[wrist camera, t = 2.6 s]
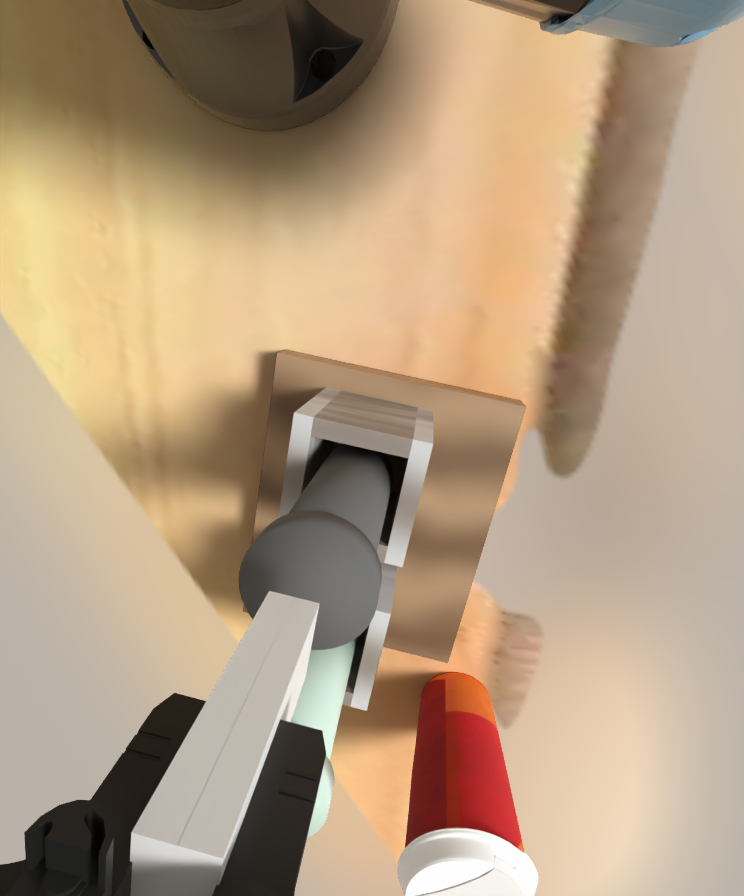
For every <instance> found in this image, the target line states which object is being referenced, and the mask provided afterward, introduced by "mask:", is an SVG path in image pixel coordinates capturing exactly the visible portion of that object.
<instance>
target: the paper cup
mask: <svg viewBox="0 0 744 896" xmlns="http://www.w3.org/2000/svg"><path fill="white" fill-rule="evenodd" d="M398 878H399V881H400V884H401V887H402V889H403V891H404V895H405V896H535V890H536V886H537V883H538V875H537V871H536V869H535V867H534V864H533V862H532V861H531V860H530V858H529V857H528V855H526V854H525V853H524V848H523V844H522V839H521V835H520V831H519V825H518V821H517V816H516V812H515V807H514V802H513V798H512V794H511V789H510V784H509V779H508V775H507V771H506V766H505V761H504V757H503V752H502V748H501V743H500V739H499V734H498V730H497V725H496V721H495V717H494V712H493V708H492V704H491V701H490V697H489V694H488V692H487V690H486V688H485V687H484V686H483V684H482V683H481V682H479V681H478V680H477V679H475V678H473V677H471V676H469V675H466V674H463V673H455V672H451V673H444V674H441V675H438V676H436V677H434V678H433V679H431V680H430V681H429V682H428V683H427V684H426V686H425V687H424V689H423V692H422V697H421V703H420V710H419V719H418V728H417V737H416V746H415V754H414V761H413V769H412V780H411V791H410V803H409V814H408V824H407V834H406V843H405V849H404V851H403V852H402V854H401V856H400V859H399V862H398Z"/></svg>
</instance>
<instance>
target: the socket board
mask: <svg viewBox="0 0 744 896" xmlns="http://www.w3.org/2000/svg"><path fill="white" fill-rule="evenodd" d="M525 409H526V406H525V405H524V404H523V403H522V402H521V401H520V400H516V399H511V398H506V397H502V396H497V395H493V394H488V393H483V392H479V391H474V390H470V389H465V388H460V387H456V386H451V385H447V384H442V383H437V382H433V381H428V380H424V379H419V378H414V377H410V376H405V375H400V374H396V373H391V372H387V371H382V370H377V369H373V368H368V367H364V366H359V365H354V364H350V363H345V362H341V361H336V360H331V359H327V358H322V357H318V356H313V355H308V354H304V353H299V352H295V351H290V350H284V351H281V352H278V353H277V358H276V365H275V373H274V380H273V388H272V396H271V403H270V411H269V418H268V426H267V433H266V441H265V448H264V456H263V464H262V471H261V479H260V486H259V494H258V501H257V509H256V516H255V524H254V531H253V539H252V545H253V543H254V542H255V541H256V539H257V538H258V537H259V535H260V534H261V533H262V532H263V530H264V529H265V528H266V527H267V526H268V525H269V524H270V523H272V522H273V521H275V520H276V519H278V518H280V517H282V516H284V515H286V514H288V513H289V512H290V510H291V509H292V507H293V506H294V504H295V503H296V502H297V500H298V499H299V497H300V496H301V494H302V493H303V491H304V490H305V489H306V487H307V486H308V484H309V483H310V481H311V480H312V478H313V477H314V476H315V474H316V473H317V471H318V470H319V468H320V467H321V465H322V464H323V462H324V461H325V460H326V458H327V457H328V455H329V454H330V453H331V452H332V451H333V450H334V449H335V448H337V447H338V446H340V445H342V444H347V445H352V446H356V447H360V448H365V449H369V450H374V451H378V452H382V453H383V454H384V455H385V456H386V457H387V459H388V460H389V462H390V464H391V467H392V471H393V483H392V488H391V492H390V497H389V501H388V506H387V510H386V514H385V519H384V523H383V528H382V532H381V537H380V541H379V545H378V550H377V554H378V557H379V560H380V564H381V570H382V581H381V587H380V593H379V598H378V604H377V608H376V612H375V615H374V617H373V619H372V621H371V623H370V624H369V626H368V627H367V628H366V629H365V630H364V632H363V633H362V634H361V635H359V636H358V637H357V642H356V646H355V651H354V655H353V660H352V664H351V668H350V673H349V677H348V682H347V686H346V690H345V695H344V699H343V704H342V705H346V706H350V707H353V708H357V709H361V710H365V711H367V708H368V704H369V700H370V696H371V692H372V688H373V684H374V680H375V676H376V672H377V668H378V664H379V660H380V656H381V652H382V648H383V647H386V648H390V649H394V650H398V651H402V652H406V653H410V654H414V655H418V656H422V657H426V658H430V659H434V660H438V661H442V662H445V663H448V661H449V657H450V654H451V651H452V648H453V644H454V641H455V638H456V635H457V631H458V628H459V625H460V621H461V618H462V615H463V612H464V608H465V605H466V602H467V599H468V595H469V592H470V589H471V586H472V582H473V579H474V576H475V572H476V569H477V566H478V563H479V559H480V556H481V553H482V549H483V546H484V543H485V540H486V537H487V533H488V530H489V526H490V524H491V520H492V517H493V514H494V510H495V507H496V504H497V501H498V497H499V494H500V491H501V488H502V484H503V481H504V478H505V475H506V471H507V468H508V465H509V462H510V458H511V455H512V452H513V448H514V445H515V442H516V439H517V435H518V432H519V429H520V426H521V422H522V419H523V416H524V413H525ZM243 612H247V613H248V611H247V609H246V607H245V605H244V607H243Z"/></svg>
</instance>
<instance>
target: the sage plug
mask: <svg viewBox="0 0 744 896" xmlns="http://www.w3.org/2000/svg"><path fill="white" fill-rule="evenodd" d="M356 642H357V638H355V639H354V640H352V641H351V642H349V643H347V644H345V645H342V646H340V647H336V648H332V649H326V650H311V651H310V656H309V662H308V667H307V672H306V677H305V680H304V683H303V686H302V689H301V692H300V695H299V698H298V701H297V704H296V707H295V710H294V713H293V716H292V719H291V721H290V722H292V723H296V724H299V725H303V726H307V727H311V728H314V729H318V730H322V731H323V737H324V743H325V749H326V757H325V762H324V766H323V771H322V775H321V780H320V784H319V789H318V793H317V798H316V802H315V806H314V811H313V815H312V819H311V823H310V827H309V832H308V836H307V838H308V837H310V836H312V835H313V834H315V833H316V832H317V831H318V830H319V829H320V828H321V827H322V826H323V824H324V823H325V821H326V818H327V815H328V811H329V806H330V801H331V796H332V790H333V786H334V772H333V768H332V765H331V763H330V757H331V752H332V748H333V743H334V739H335V735H336V730H337V726H338V721H339V717H340V712H341V708H342V704H343V699H344V695H345V690H346V686H347V682H348V677H349V673H350V668H351V664H352V660H353V655H354V651H355V646H356Z"/></svg>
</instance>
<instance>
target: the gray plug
mask: <svg viewBox="0 0 744 896" xmlns="http://www.w3.org/2000/svg"><path fill="white" fill-rule="evenodd" d="M392 483H393V471H392V467H391V464H390V462H389V460H388V459H387V457H386V456H385V455H384V454H383V453H382V452H378V451H374V450H369V449H365V448H360V447H356V446H352V445H347V444H342V445H340V446H338V447H337V448H335V449H334V450H333V451H332V452H331V453H330V454H329V455H328V457H327V458H326V460H325V461H324V462H323V464H322V465H321V467H320V468H319V470H318V471H317V473H316V474H315V476H314V477H313V478H312V480H311V481H310V483H309V484H308V486H307V487H306V489H305V490H304V491H303V493H302V494H301V496H300V497H299V499H298V500H297V502H296V503H295V504H294V506H293V507H292V509H291V510H290V512H289V513H288V514H286V515H284V516H282V517H280V518H278V519H276V520H275V521H273V522H272V523H270V524H269V525H268V526H267V527H266V528H265V529H264V530H263V532H262V533H261V534H260V535H259V537H258V538H257V539H256V541H255V542H254V543H253V545H252V546H251V547H250V549H249V550H248V551H247V553H246V555H245V557H244V559H243V561H242V564H241V567H240V572H239V589H240V594H241V598H242V600H243V603H244V605H245V607H246V609H247V611H248V613H249V614H250V616H251V617H252V619H254V617H255V615H256V613H257V612H258V610H259V608H260V606H261V604H262V603H263V601H264V599H265V597H266V596H267V594H268V592H269V591H272V592H276V593H280V594H284V595H288V596H292V597H296V598H300V599H304V600H308V601H312V602H316V603H320V604H319V609H318V615H317V620H316V625H315V630H314V635H313V641H312V646H311V650H326V649H332V648H336V647H340V646H342V645H345V644H347V643H349V642H351V641H352V640H354V639H355V638H357V637H358V636H359V635H361V634H362V633H363V632H364V630H365V629H366V628H367V627H368V626H369V624H370V623H371V621H372V619H373V617H374V615H375V612H376V608H377V604H378V598H379V593H380V587H381V581H382V570H381V564H380V560H379V557H378V554H377V550H378V545H379V541H380V537H381V532H382V528H383V523H384V519H385V514H386V510H387V506H388V501H389V497H390V492H391V488H392Z"/></svg>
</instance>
